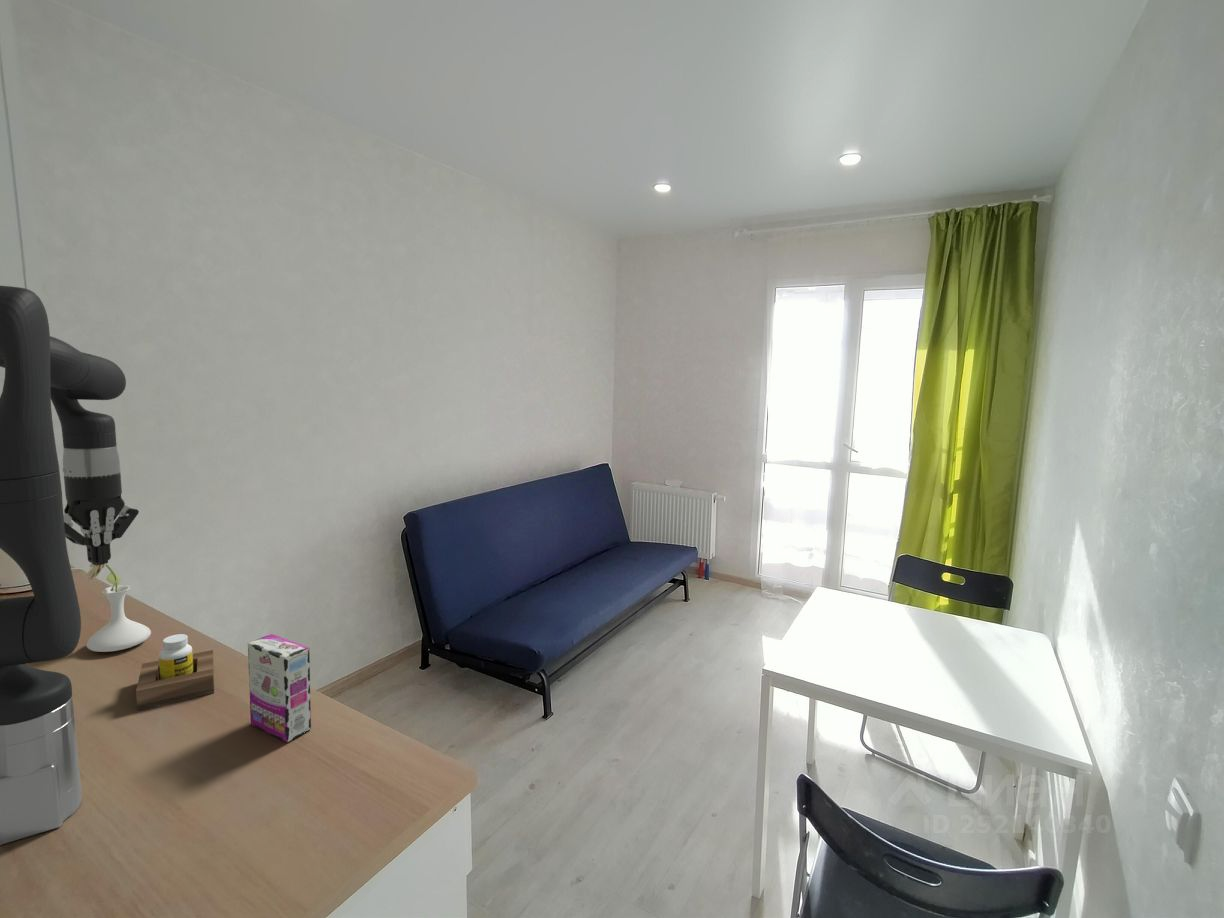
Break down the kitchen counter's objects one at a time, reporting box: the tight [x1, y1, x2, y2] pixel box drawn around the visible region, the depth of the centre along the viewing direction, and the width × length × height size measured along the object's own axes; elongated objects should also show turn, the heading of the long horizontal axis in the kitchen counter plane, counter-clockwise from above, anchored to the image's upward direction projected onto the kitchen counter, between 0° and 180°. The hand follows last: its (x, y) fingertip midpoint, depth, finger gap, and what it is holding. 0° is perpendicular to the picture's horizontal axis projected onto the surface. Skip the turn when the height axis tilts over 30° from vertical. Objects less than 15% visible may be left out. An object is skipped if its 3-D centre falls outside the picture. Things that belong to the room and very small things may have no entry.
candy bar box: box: [247, 633, 312, 743], centre depth 103 cm, size 11×5×16 cm, turn 64°
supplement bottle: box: [158, 633, 194, 680], centre depth 114 cm, size 5×5×10 cm
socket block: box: [135, 649, 215, 711], centre depth 115 cm, size 12×12×4 cm
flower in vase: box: [85, 547, 152, 653], centre depth 128 cm, size 13×11×25 cm
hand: (100, 563), depth 103 cm, fingers closed
